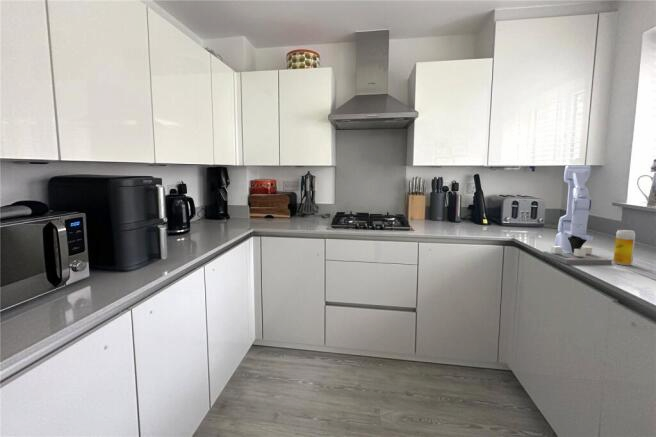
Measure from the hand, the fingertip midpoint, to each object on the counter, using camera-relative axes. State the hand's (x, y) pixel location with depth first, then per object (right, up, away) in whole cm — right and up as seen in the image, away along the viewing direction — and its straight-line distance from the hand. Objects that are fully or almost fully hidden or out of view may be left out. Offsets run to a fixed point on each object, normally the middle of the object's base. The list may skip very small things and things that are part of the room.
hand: (575, 252), depth 143 cm
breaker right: (+7, 0, +3) cm, 7 cm away
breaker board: (0, -3, 0) cm, 3 cm away
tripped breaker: (0, -1, -2) cm, 3 cm away
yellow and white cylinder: (+16, -4, -6) cm, 18 cm away
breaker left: (-7, 0, +3) cm, 7 cm away
